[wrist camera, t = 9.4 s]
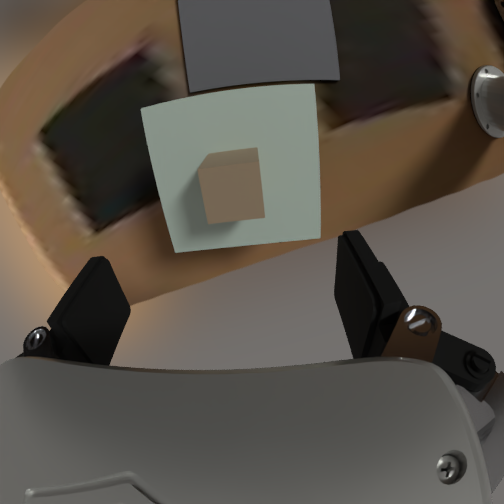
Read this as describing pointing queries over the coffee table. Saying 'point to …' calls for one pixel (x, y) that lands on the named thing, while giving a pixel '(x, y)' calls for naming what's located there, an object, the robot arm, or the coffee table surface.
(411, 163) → the coffee table surface
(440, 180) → the coffee table surface
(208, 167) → the lid
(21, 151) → the coffee table surface
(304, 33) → the mat
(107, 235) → the coffee table surface
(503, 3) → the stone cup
